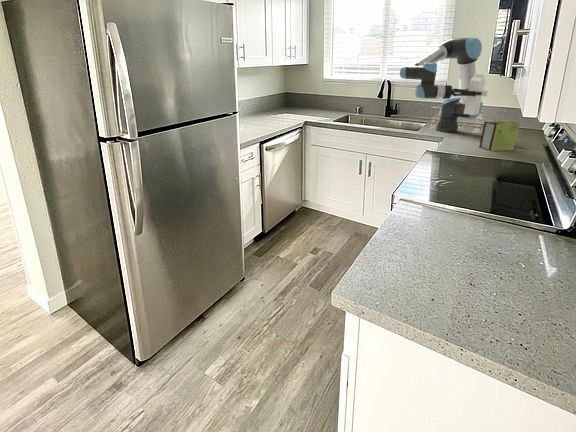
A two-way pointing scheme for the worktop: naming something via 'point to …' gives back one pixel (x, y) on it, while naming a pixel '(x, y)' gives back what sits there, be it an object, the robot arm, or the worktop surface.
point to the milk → (474, 102)
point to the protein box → (499, 135)
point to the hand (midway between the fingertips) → (483, 92)
